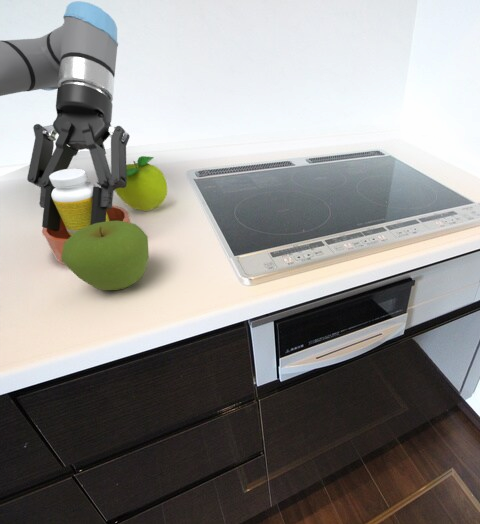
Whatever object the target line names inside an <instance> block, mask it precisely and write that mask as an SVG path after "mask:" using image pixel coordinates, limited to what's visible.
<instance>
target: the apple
mask: <svg viewBox="0 0 480 524" xmlns="http://www.w3.org/2000/svg"><path fill="white" fill-rule="evenodd" d="M148 237H149V236H148V235H147V234H146V232H145V231H144V230H143V229H142V228H141V227H140V226H138V225H137V224H136V223H134V222H133V223H129V222H124V221H105V222H100V223H95V224H92V225H89V226H87V227H84V228H82V229H80V230H78V231H77V232H75V233H74V234H73V235H72V236H71V237H70V238H69V239H67V240H66V241H65V242H64V245H63V252H62V259H61V260H62V261H63V262H64V263H65V264H66V265H65V266H67V268H68V269H69V270H70V271H71V272H72V273H73V274H74V275H75V276H76V277H77V278H78V279H80V280H81V281H83V282H85V283H86V284H89V285H90V286H91V287H93V288H95V289H97V290H102V291H119V290H124V289H127V288H129V287H131V286H133V285H134V284H135V283H136V282H138V281H139V280H140V279H141V278H143V276H144V274H145V272H146V269H147V267H148V262H149V258H150V257H149V255H150V254H149V238H148Z"/></svg>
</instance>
